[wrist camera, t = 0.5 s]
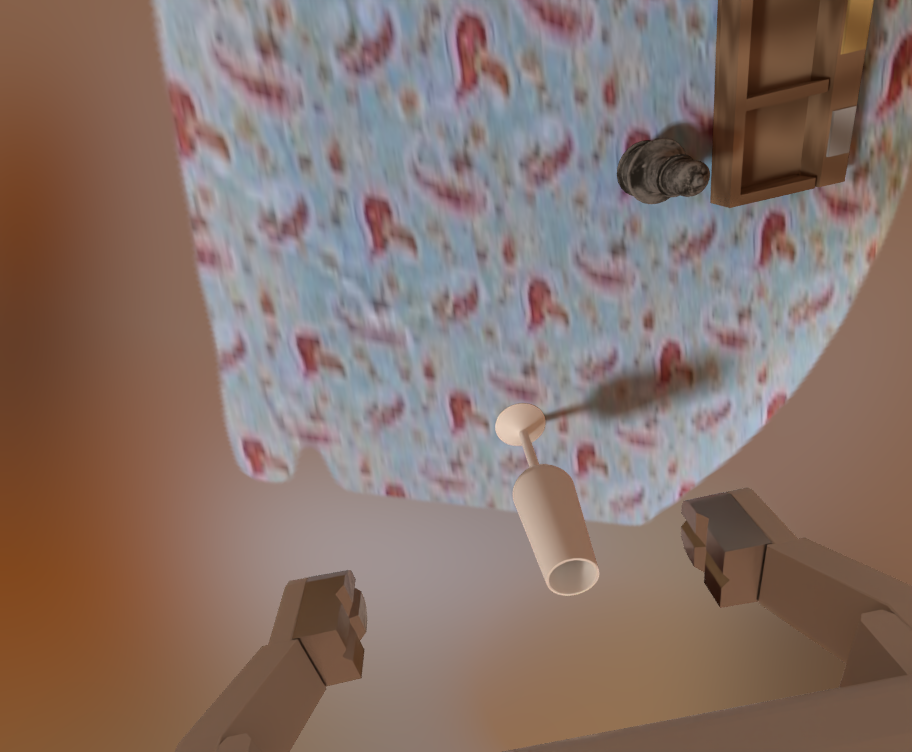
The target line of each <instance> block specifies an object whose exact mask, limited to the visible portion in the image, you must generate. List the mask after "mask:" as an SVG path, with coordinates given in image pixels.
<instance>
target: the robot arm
mask: <svg viewBox="0 0 912 752" xmlns="http://www.w3.org/2000/svg"><path fill="white" fill-rule="evenodd" d="M681 513H682V515H683V516H684V517H685V519H686V521H685V523H684V524H683V525H682V526H681V537H682V541H683V545H684V549H685V551H686V553H687V555H688V557H689V559H690V561H691V562H692V564H693V566H694V567H696V568H698V569H699V570H701V571H703V572H705V573H704V583H705V585H706V586H707V588H708V590H709V591H710V593H711V594H712V596H713V598H714V599H715V601H716V602H717V604H718V605H719V607H720V608H721V607H728V606H733V605H739V604H745V603H751V602H757V601H759V602H758V603H759V604H760V605H761V606H763V607H764V608H766V609H767V610H769V611H770V612H772V613H773V614H774V615H776V616H777V617H779V618H780V619H782V620H783V621H785V622H786V623H788V624H789V625H790V626H792V627H793V628H795V629H796V630H798V631H799V632H801V633H802V634H804V635H805V636H806V637H808V638H809V639H811V640H812V641H814V642H815V643H817V644H818V645H820V646H821V647H822V648H824V649H825V650H827V651H828V652H830V653H831V654H833V655H834V656H836V657H837V658H838V659H840V660H841V661H843V662H844V663H846V667H845V670H844V673H843V677H842V680H841V683H840V687H839V688H835V689H830V690H825V691H820V692H814V693H809V694H804V695H798V696H793V697H788V698H783V699H777V700H772V701H767V702H761V703H757V704H751V705H746V706H741V707H735V708H730V709H725V710H720V711H714V712H709V713H703V714H698V715H693V716H688V717H683V718H678V719H672V720H667V721H661V722H656V723H651V724H645V725H640V726H635V727H630V728H624V729H619V730H614V731H608V732H603V733H598V734H592V735H587V736H582V737H577V738H571V739H566V740H561V741H556V742H551V743H545V744H540V745H535V746H530V747H524V748H520V749H514V750H509V751H503V752H912V586H911V585H909V584H907V583H904V582H902V581H900V580H898V579H896V578H893V577H891V576H889V575H887V574H884V573H882V572H880V571H878V570H875V569H873V568H871V567H869V566H867V565H864V564H862V563H860V562H858V561H856V560H853V559H851V558H849V557H847V556H844V555H842V554H840V553H838V552H836V551H833V550H831V549H829V548H827V547H824V546H822V545H820V544H817V543H816V542H813V541H811V540H809V539H807V538H799V539H798V538H797V537H796V536H795V535H794V534H793V533H792V532H791V531H790V530H789V529H788V527H787V526H786V525H785V524H784V523H783V522H782V521H781V520H780V519H779V518H778V517H777V516H776V515H775V513H774V512H773V511H772V510H771V509H770V508H769V507H768V506H767V505H766V504H765V503H764V502H763V501H762V500H761V499H760V497H759V496H758V495H757V494H756V493H755V492H754V491H753V490H752V489H750V488H743V489H738V490H733V491H729V492H726V493H724V492H723V493H718V494H714V495H709V496H704V497H700V498H695V499H691V500H686V501H684V502H683V504H682V512H681ZM355 580H356V579H355V577H354V575H353V573H352V571H351V570H346V571H341V572H335V573H330V574H324V575H318V576H313V577H308V578H303V579H297V580H292V581H289V582H288V584H287V585H286V587H285V589H284V592H283V595H282V599H281V602H280V606H279V609H278V613H277V616H276V620H275V623H274V627H273V631H272V634H271V637H270V641H269V644H268V645H265V646H262V647H261V648H260V649H259V651H258V652H257V653H256V654H255V655H254V656H253V657H252V659H251V660H250V661H249V662H248V663H247V664H246V666H245V667H244V668H243V669H242V671H241V672H240V673H239V674H238V675H237V676H236V677H235V678H234V680H233V681H232V682H231V683H230V684H229V686H228V687H227V688H226V689H225V690H224V691H223V692H222V694H221V695H220V696H219V697H218V698H217V699H216V701H215V702H214V703H213V704H212V705H211V706H210V708H209V709H208V710H207V711H206V712H205V713H204V715H203V716H202V717H201V718H200V719H199V720H198V722H197V723H196V724H195V725H194V726H193V727H192V729H191V730H190V731H189V732H188V733H187V734H186V735H185V737H184V738H183V739H182V740H181V741H180V742H179V744H178V745H177V748H176V751H175V752H290V750H291V748H292V746H293V745H294V743H295V741H296V740H297V738H298V736H299V735H300V733H301V731H302V729H303V728H304V726H305V724H306V723H307V721H308V719H309V717H310V716H311V714H312V712H313V711H314V709H315V707H316V706H317V704H318V702H319V700H320V699H321V697H322V695H323V694H324V692H325V690H326V687H325V686H330V685H334V684H338V683H343V682H347V681H352V680H356V679H360V678H362V667H363V659H364V648H363V646H362V644H361V642H360V640H361V639H362V637H363V636H364V634H365V633H366V628H367V611H366V604H365V600H364V597H363V594H362V593H361V591H360V590H358V589H356V588H355Z"/></svg>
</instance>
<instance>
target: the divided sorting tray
mask: <svg viewBox="0 0 912 752" xmlns="http://www.w3.org/2000/svg"><path fill="white" fill-rule="evenodd" d="M873 1H874V0H718V15H717V42H716V69H715V95H714V122H713V149H712V176H711V203H713V204H717V205H721V206H725V207H728V208H732V207H736V206H740V205H744V204H749V203H753V202H757V201H762V200H766V199H770V198H775V197H779V196H783V195H788V194H792V193H796V192H800V191H805V190H809V189H813V188H815V186H816V187H822V186H826V185H831V184H835V183H839V182H844V181H845V175H846V169H847V163H848V157H849V150H850V144H851V138H852V132H853V126H854V119H855V113H856V107H857V101H858V95H859V88H860V82H861V76H862V70H863V64H864V57H865V51H866V45H867V39H868V33H869V26H870V20H871V14H872V8H873Z"/></svg>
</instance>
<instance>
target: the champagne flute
mask: <svg viewBox="0 0 912 752" xmlns="http://www.w3.org/2000/svg"><path fill="white" fill-rule="evenodd" d="M544 428H545V417H544V414H543V413H542V411H541V410H540V409H539V408H537V407H536V406H534V405H531V404H526V403H521V404H515V405H512V406H510V407H508V408H506V409H505V410H504V411H502V413H501V414H500V415H499V417H498V418H497V421H496V425H495V429H496V433H497V435H498V437H499V438H500V439H501V440H502V441H503V442H505V443H506V444H509V445H513V446H523V449H524V452H525V455H526V458H527V461H528V464H529V467H530V468H528V469H526V470H525V471H524V472H523V473H522V474H521V475H520V476H519V478H518V479H517V481H516V483H515V485H514V487H513V501H514V503H515V506H516V508H517V511H518V513H519V516H520V518H521V521H522V524H523V526H524V529H525V531H526V533H527V536H528V538H529V541H530V544H531V546H532V549H533V551H534V554H535V556H536V559H537V561H538V564H539V566H540V569H541V571H542V574H543V576H544V579H545V581H546V584H547V586H548V588H549V589H550V590H551V591H552V592H554V593H556V594H559V595H565V596H567V595H568V596H569V595H576V594H580V593H582V592H585V591H587V590H588V589H590V588H591V587H592V586H593V585H594V584H595V583H596V582H597V580H598V578H599V569H598V565H597V562H596V558H595V555H594V551H593V548H592V545H591V541H590V538H589V535H588V531H587V528H586V524H585V520H584V517H583V514H582V510H581V507H580V503H579V500H578V496H577V493H576V490H575V486H574V483H573V480H572V479H571V477H570V476H569V475H568V474H567V473H566V472H565V471H564V470H562V469H560V468H558V467H556V466H553V465H548V464H539V462H538V459H537V457H536V454H535V451H534V448H533V446H532V443H531V442H533V441H535V440H536V439H538V437H539V436H540V435H541V434H542V432H543V431H544Z"/></svg>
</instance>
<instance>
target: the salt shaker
mask: <svg viewBox="0 0 912 752" xmlns="http://www.w3.org/2000/svg"><path fill="white" fill-rule="evenodd" d="M709 178H710V171H709V168H708V167H707V165H706V164H704V163H703V162H701V161H695V160H693V159H692V158H691V157H690V156H688V155H686V154H685V151H684V149H683V148H682V147H681V146H680V144H679V143H677V142H675V141H674V140H671V139H666V138H661V139H655V140H652V141H641V142H638V143H636V144H634V145H632V146H631V147H630V148H628V149H627V150H626V152H625V153H624V154H623V156H622V157H621V159H620V161H619V164H618V168H617V179H618V183H619V185H620V187H621V188H622V189H623V190H624V191H625V192H626V193H628V194H629V195H632V196H634V197H635V198H636V199H637V200H639V201H641V202H643V203H647V204H657V203H660V202H663V201H666V200H667V199H669V198H670V197H677V196H679V195H681V196H686V197H690V196H695V195H697V194H699V193H700V192H702V191H703V190H704V188H705V187H706V186H707V184H708V181H709Z"/></svg>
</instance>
